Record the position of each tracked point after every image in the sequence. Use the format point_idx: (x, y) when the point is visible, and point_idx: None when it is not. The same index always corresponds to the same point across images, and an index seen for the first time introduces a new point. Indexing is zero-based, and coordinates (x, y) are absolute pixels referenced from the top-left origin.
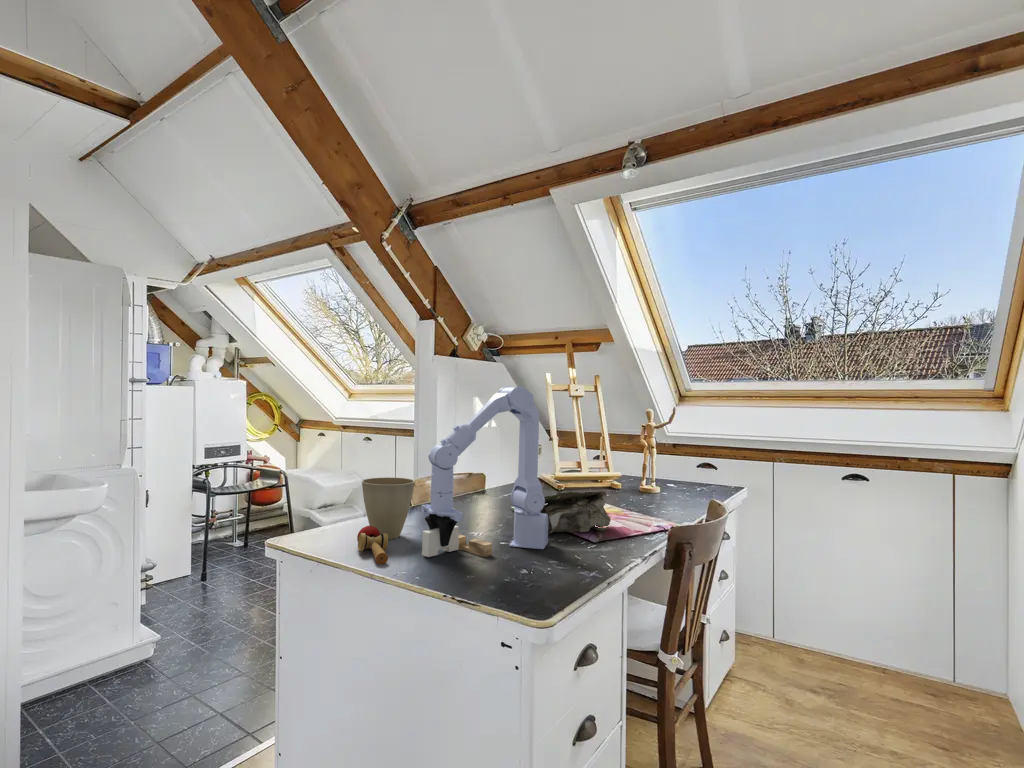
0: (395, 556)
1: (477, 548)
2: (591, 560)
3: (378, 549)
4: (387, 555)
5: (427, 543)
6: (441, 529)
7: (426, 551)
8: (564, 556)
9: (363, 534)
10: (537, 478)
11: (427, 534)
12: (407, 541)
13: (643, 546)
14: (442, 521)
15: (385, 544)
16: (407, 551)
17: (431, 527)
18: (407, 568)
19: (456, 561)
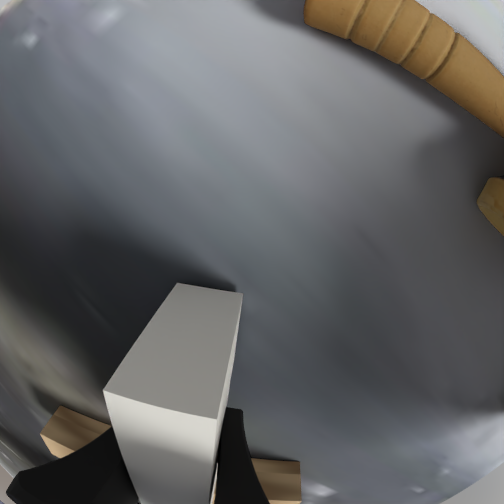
0: (385, 180)
1: (83, 436)
2: None
3: (412, 6)
4: (305, 4)
5: (158, 331)
6: (80, 460)
7: (188, 301)
8: (15, 447)
9: None
10: None
11: (131, 383)
12: (463, 400)
13: None
14: (10, 488)
15: (499, 193)
16: (391, 307)
17: (225, 496)
18: (132, 57)
19: (61, 321)
